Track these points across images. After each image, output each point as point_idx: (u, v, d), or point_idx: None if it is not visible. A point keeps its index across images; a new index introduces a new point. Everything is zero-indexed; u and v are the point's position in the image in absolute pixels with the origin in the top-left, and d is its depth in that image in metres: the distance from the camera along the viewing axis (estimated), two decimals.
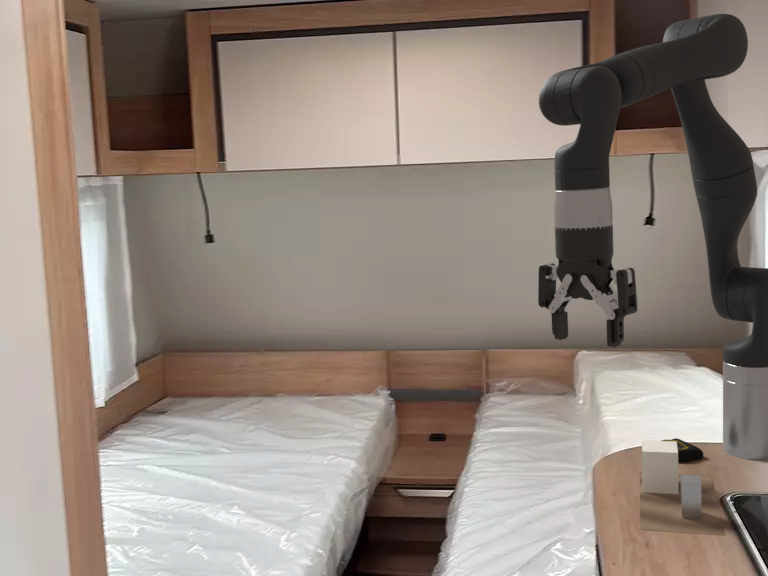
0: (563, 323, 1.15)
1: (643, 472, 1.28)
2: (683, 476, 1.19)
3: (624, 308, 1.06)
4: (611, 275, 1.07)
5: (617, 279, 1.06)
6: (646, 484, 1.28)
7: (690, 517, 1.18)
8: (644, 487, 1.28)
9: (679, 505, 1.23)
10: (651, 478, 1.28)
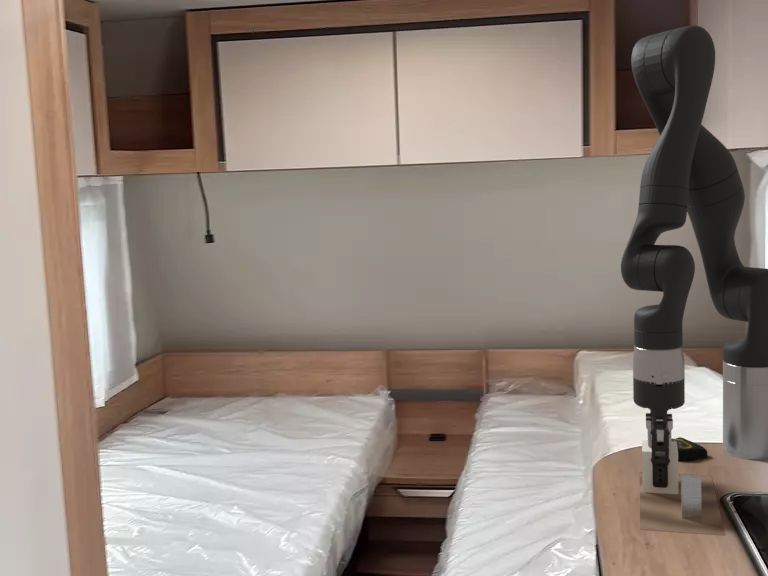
0: None
1: (643, 472, 1.28)
2: (683, 476, 1.19)
3: None
4: None
5: None
6: (646, 484, 1.28)
7: (690, 517, 1.18)
8: (644, 487, 1.28)
9: (679, 505, 1.23)
10: (651, 478, 1.28)
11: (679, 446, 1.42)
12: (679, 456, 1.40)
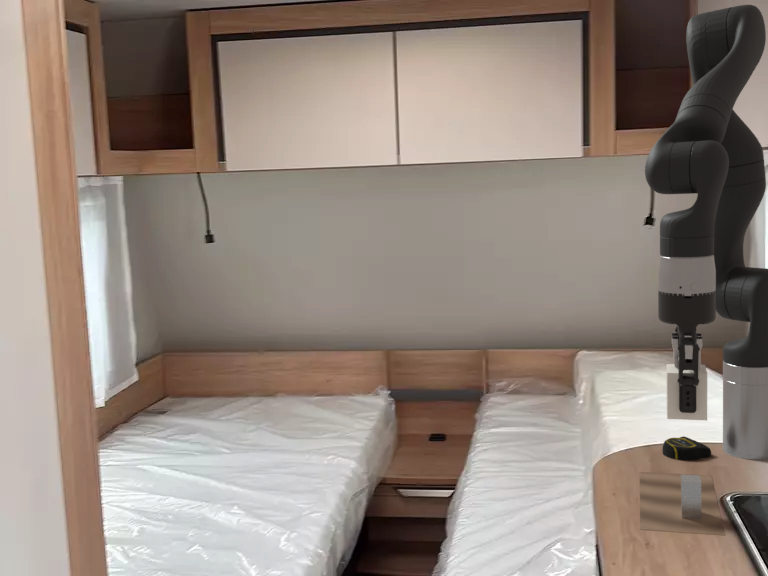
0: None
1: (668, 396, 1.15)
2: (683, 476, 1.19)
3: None
4: None
5: None
6: (671, 410, 1.16)
7: (690, 517, 1.18)
8: (669, 413, 1.16)
9: (679, 505, 1.23)
10: (677, 402, 1.15)
11: (682, 445, 1.42)
12: (683, 455, 1.40)
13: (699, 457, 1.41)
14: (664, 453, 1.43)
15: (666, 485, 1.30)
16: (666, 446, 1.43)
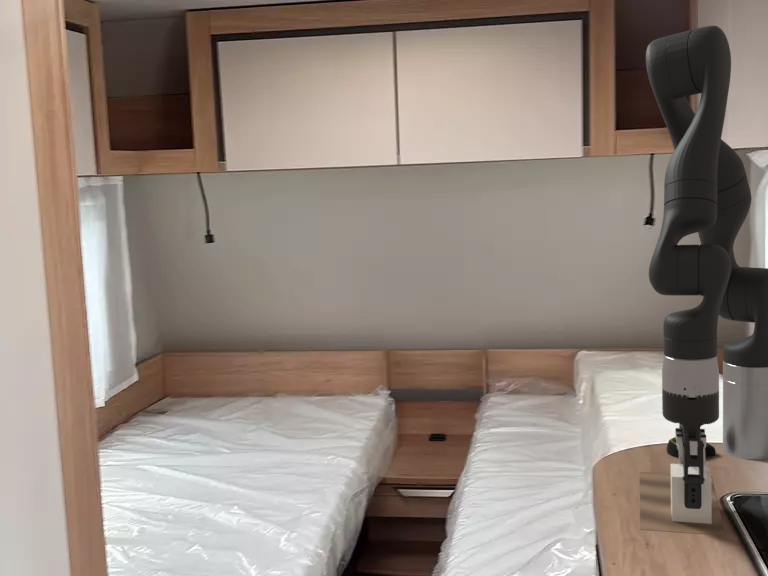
0: None
1: (673, 499, 1.17)
2: None
3: None
4: None
5: None
6: (676, 512, 1.17)
7: None
8: (674, 515, 1.18)
9: None
10: (682, 505, 1.17)
11: None
12: None
13: None
14: (668, 452, 1.44)
15: (666, 485, 1.30)
16: (671, 445, 1.43)
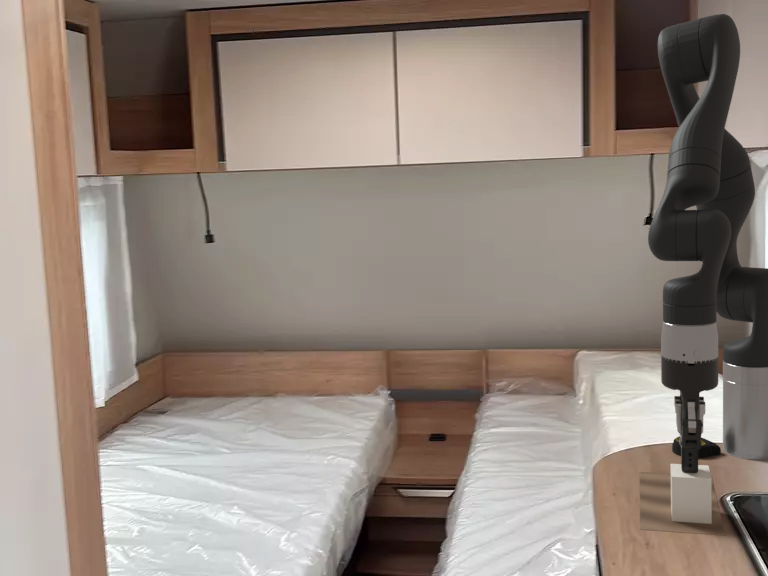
0: None
1: (673, 499, 1.17)
2: None
3: None
4: None
5: None
6: (676, 512, 1.17)
7: None
8: (674, 516, 1.18)
9: None
10: (682, 505, 1.17)
11: None
12: None
13: (709, 455, 1.41)
14: (674, 451, 1.44)
15: (666, 485, 1.30)
16: (676, 444, 1.44)
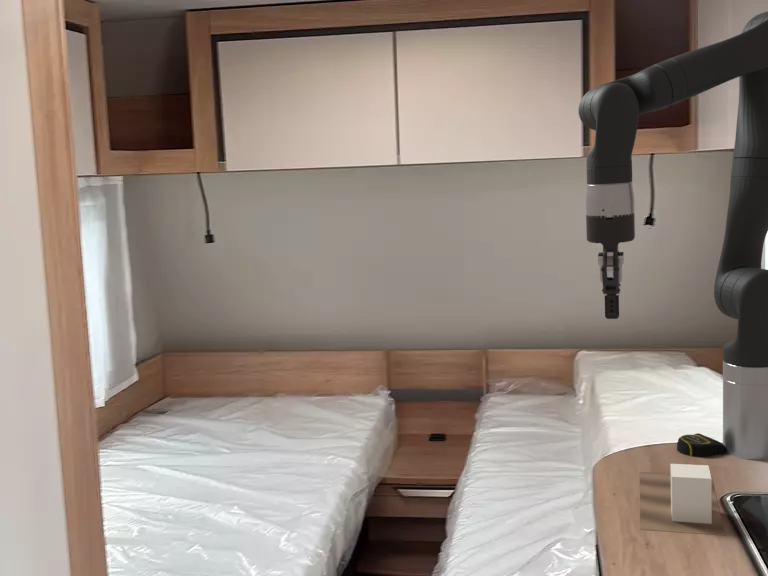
0: None
1: (673, 499, 1.17)
2: None
3: (619, 282, 1.37)
4: None
5: (619, 262, 1.39)
6: (676, 512, 1.17)
7: None
8: (674, 515, 1.18)
9: None
10: (682, 505, 1.17)
11: (697, 441, 1.43)
12: (697, 451, 1.42)
13: (713, 453, 1.42)
14: (679, 450, 1.45)
15: (666, 485, 1.30)
16: (681, 443, 1.44)
